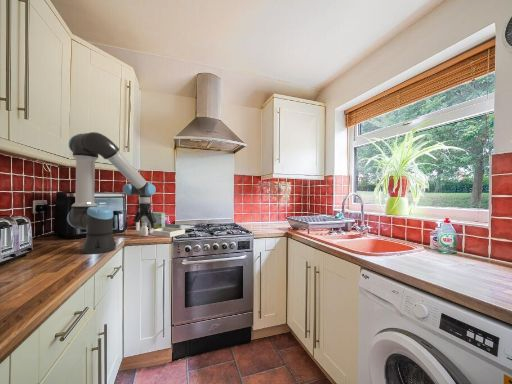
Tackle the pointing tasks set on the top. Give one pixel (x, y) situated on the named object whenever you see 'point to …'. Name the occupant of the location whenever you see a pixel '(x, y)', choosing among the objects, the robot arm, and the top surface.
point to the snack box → (159, 220)
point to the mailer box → (167, 232)
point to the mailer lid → (177, 226)
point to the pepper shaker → (144, 230)
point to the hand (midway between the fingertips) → (144, 231)
